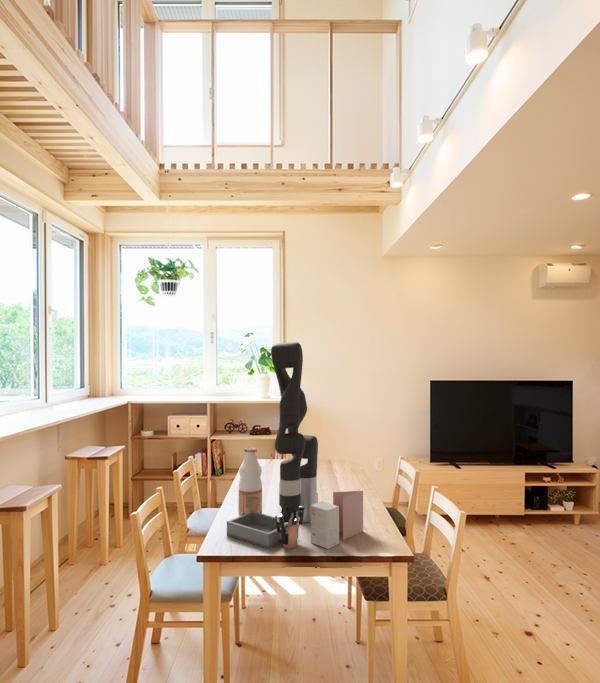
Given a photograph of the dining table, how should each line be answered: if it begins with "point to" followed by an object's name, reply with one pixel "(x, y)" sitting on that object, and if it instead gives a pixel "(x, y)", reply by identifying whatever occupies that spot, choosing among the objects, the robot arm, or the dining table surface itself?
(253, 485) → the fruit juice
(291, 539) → the peach rounded piece
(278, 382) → the robot arm
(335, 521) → the small box
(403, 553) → the dining table surface
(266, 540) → the tote
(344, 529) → the greeting card
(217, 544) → the dining table surface
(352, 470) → the dining table surface
